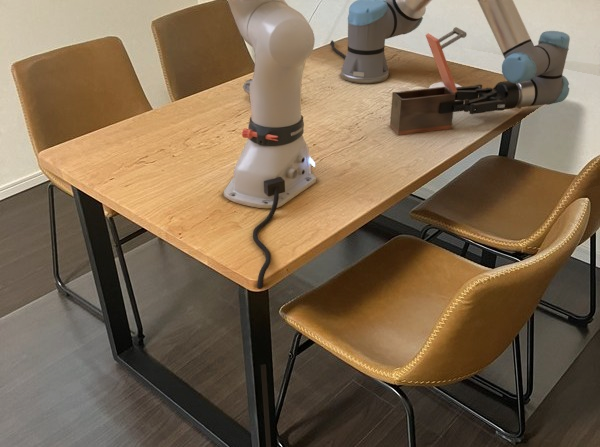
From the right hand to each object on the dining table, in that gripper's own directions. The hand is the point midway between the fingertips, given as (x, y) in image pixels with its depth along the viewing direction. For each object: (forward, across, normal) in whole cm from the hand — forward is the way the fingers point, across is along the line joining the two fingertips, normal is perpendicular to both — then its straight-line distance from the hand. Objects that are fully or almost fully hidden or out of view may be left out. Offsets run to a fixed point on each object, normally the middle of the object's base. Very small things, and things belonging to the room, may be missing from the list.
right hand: (434, 103), depth 163 cm
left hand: (+6, 0, +30) cm, 31 cm away
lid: (0, 0, +11) cm, 11 cm away
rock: (+38, +31, -6) cm, 50 cm away
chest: (+3, 0, -6) cm, 7 cm away
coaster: (-12, +17, -6) cm, 21 cm away
